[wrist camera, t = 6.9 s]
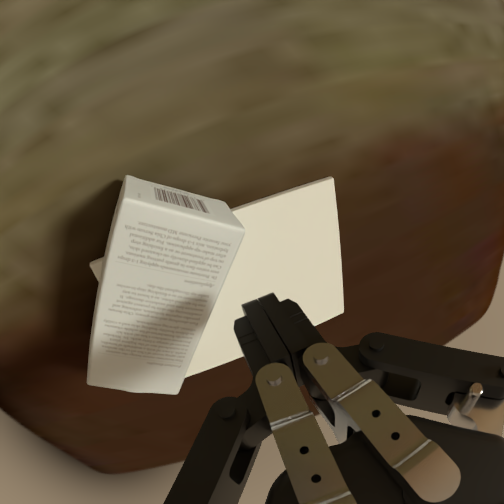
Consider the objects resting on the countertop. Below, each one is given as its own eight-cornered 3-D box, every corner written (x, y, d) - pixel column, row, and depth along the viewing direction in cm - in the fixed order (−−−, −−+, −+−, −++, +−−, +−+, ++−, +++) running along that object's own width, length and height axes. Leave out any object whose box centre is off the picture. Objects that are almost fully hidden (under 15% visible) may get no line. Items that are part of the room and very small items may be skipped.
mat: (90, 262, 18) (89, 265, 17) (330, 176, 20) (333, 178, 20) (163, 380, 24) (164, 384, 24) (341, 309, 27) (343, 312, 26)
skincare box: (125, 171, 16) (87, 340, 19) (121, 195, 12) (84, 387, 16) (227, 201, 18) (168, 353, 22) (252, 231, 15) (178, 398, 19)
